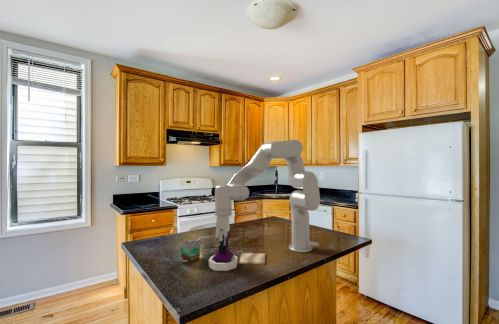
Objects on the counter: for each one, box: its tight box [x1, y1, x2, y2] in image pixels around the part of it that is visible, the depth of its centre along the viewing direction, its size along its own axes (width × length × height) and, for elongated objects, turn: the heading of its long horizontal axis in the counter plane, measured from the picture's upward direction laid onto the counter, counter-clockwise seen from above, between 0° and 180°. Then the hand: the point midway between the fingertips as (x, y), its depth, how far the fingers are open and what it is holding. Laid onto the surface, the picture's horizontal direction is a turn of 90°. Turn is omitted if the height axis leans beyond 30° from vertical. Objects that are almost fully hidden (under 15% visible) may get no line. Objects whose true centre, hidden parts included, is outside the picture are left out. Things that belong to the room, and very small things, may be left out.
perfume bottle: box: [213, 230, 234, 263], centre depth 117 cm, size 8×8×18 cm
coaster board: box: [238, 252, 266, 265], centre depth 124 cm, size 12×12×1 cm
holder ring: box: [208, 254, 238, 272], centre depth 117 cm, size 12×12×3 cm
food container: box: [179, 236, 203, 265], centre depth 122 cm, size 12×6×10 cm, turn 148°
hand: (223, 251), depth 117 cm, fingers closed on perfume bottle, 5 cm apart
